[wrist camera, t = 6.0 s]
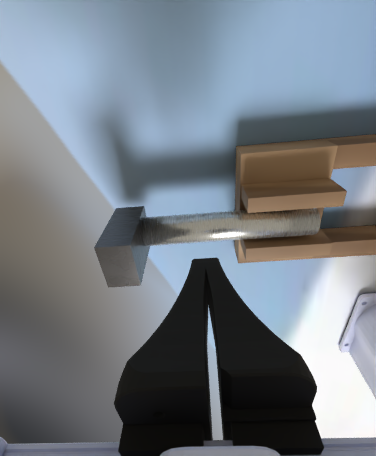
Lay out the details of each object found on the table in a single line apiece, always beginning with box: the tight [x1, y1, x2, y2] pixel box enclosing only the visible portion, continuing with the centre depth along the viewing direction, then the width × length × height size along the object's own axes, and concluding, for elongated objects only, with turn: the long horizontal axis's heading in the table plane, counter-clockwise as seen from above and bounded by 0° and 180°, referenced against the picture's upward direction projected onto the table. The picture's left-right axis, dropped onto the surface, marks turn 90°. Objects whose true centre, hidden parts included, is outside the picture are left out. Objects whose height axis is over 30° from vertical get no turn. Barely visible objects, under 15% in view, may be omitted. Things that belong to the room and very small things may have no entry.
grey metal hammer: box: [94, 206, 320, 287], centre depth 16 cm, size 3×14×5 cm, turn 95°
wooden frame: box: [235, 134, 376, 263], centre depth 18 cm, size 9×13×4 cm
